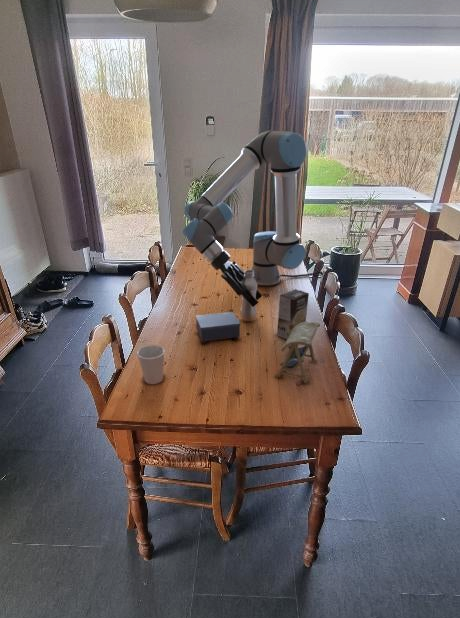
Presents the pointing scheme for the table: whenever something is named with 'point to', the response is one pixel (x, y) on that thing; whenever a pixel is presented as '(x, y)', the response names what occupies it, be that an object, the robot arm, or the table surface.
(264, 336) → the table surface
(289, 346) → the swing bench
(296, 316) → the coffee box
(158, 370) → the dixie cup
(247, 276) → the plastic bottle
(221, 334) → the grey rectangular box
